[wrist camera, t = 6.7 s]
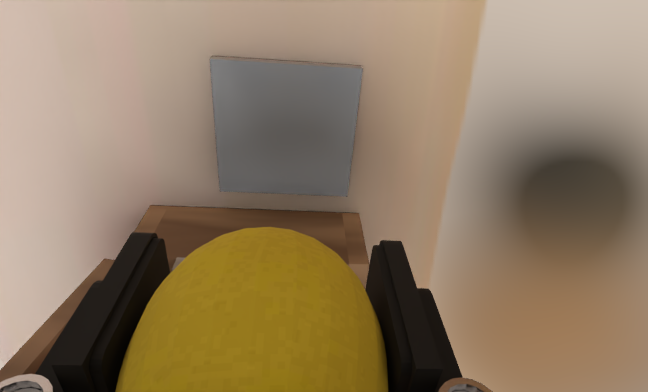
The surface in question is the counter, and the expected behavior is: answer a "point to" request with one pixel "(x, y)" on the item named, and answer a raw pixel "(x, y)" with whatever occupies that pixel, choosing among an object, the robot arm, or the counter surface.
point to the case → (186, 236)
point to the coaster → (284, 125)
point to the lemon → (258, 322)
